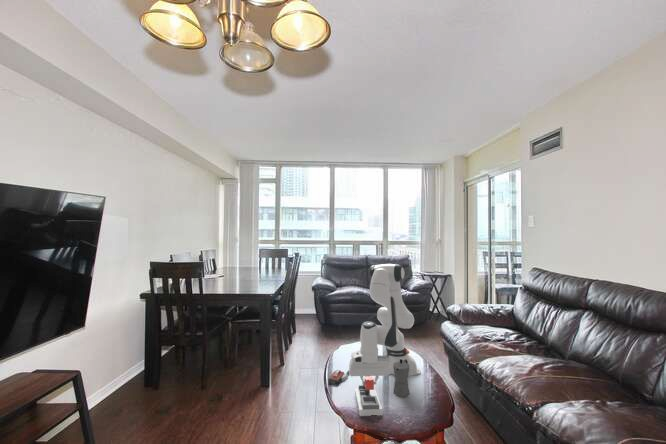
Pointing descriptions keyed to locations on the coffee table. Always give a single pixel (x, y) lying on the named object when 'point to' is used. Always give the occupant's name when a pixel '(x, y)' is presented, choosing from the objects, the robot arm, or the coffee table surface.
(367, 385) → the lockout cap
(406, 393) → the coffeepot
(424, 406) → the coffee table surface
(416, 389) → the coffee table surface
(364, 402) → the white compartment tray
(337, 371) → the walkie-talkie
